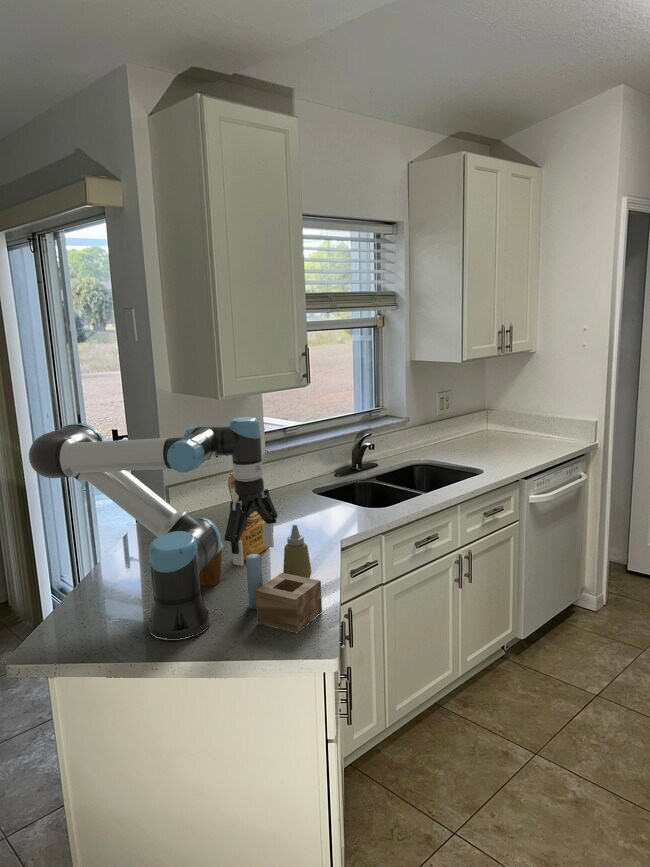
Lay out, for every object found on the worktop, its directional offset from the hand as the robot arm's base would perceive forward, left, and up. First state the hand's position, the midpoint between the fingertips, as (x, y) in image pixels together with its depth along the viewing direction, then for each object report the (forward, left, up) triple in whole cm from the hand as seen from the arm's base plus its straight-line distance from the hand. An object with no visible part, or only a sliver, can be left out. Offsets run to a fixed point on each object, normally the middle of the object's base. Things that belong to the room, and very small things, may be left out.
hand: (254, 555), depth 178 cm
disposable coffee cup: (+7, +22, -15) cm, 27 cm away
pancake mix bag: (+31, +24, -15) cm, 42 cm away
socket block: (-2, -12, -15) cm, 19 cm away
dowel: (0, 0, -15) cm, 15 cm away
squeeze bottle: (+16, -3, -15) cm, 22 cm away
